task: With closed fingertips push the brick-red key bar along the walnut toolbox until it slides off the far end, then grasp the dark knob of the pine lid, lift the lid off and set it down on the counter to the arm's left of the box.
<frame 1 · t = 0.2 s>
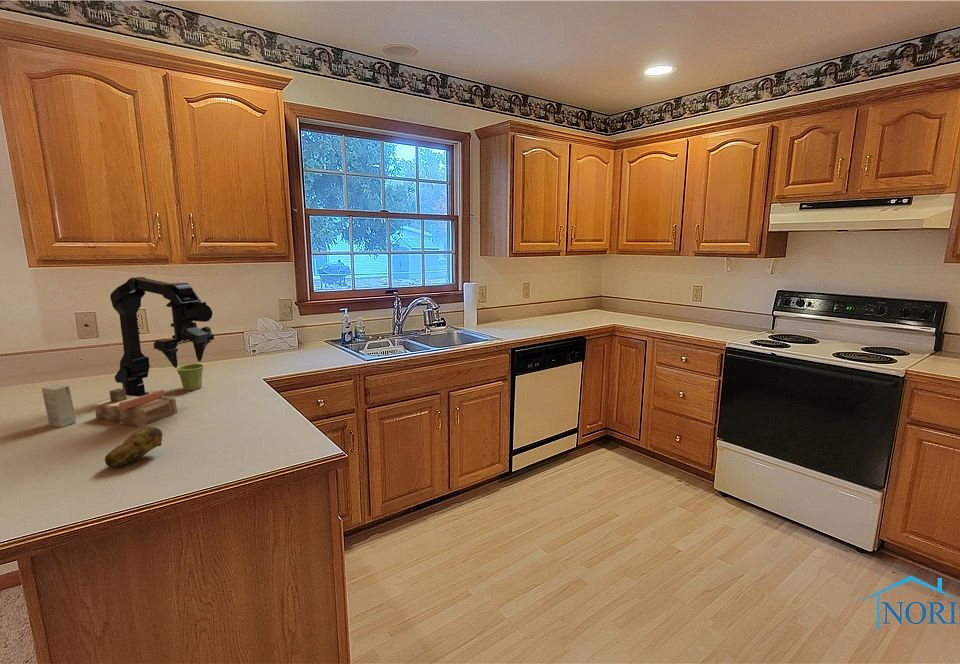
hand: (188, 364, 165), 14 cm above the table, fingers open, 9 cm apart
lid: (133, 404, 154), point 4 cm above the table, touching toolbox
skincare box: (62, 424, 149), on the table
key bar: (143, 399, 153), point 6 cm above the table, slide at 0.0 cm
plant pot: (192, 388, 185), on the table
potato: (136, 460, 125), on the table
toolbox: (135, 416, 155), on the table
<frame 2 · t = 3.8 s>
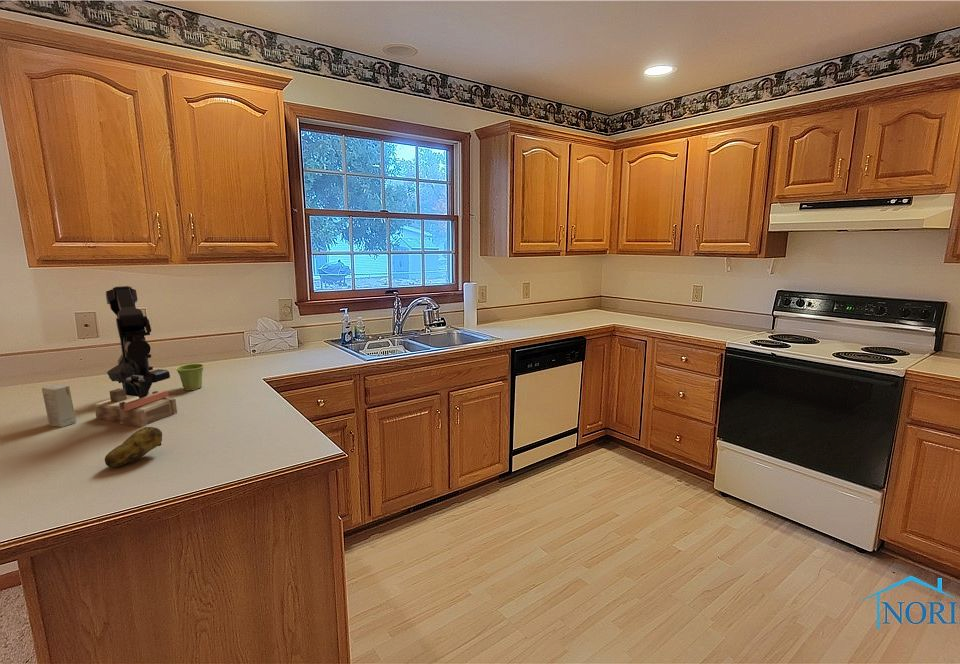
hand: (142, 399, 153), 6 cm above the table, fingers closed
key bar: (147, 399, 152), point 6 cm above the table, slide at 1.6 cm, touching gripper
everything else where it was.
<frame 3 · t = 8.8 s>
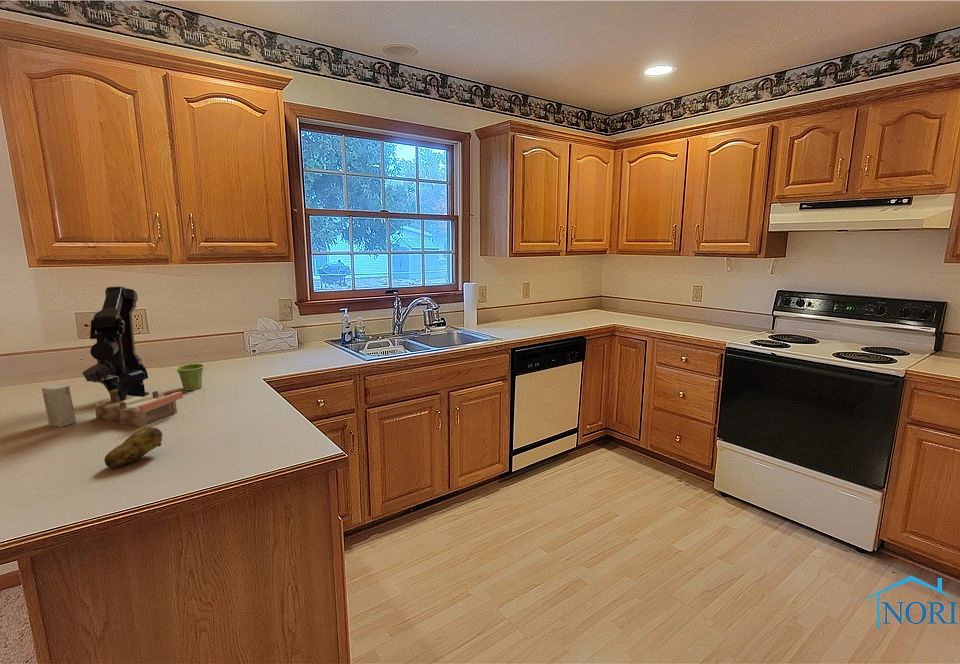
hand: (118, 399, 156), 5 cm above the table, fingers closed on lid, 3 cm apart
lid: (133, 404, 154), point 4 cm above the table, touching gripper, toolbox
key bar: (161, 401, 151), point 6 cm above the table, slide at 7.5 cm
everything else where it was.
when the fingers open (3 cm above the table, at t = 13.0 s): lid drops 1 cm, on the table.
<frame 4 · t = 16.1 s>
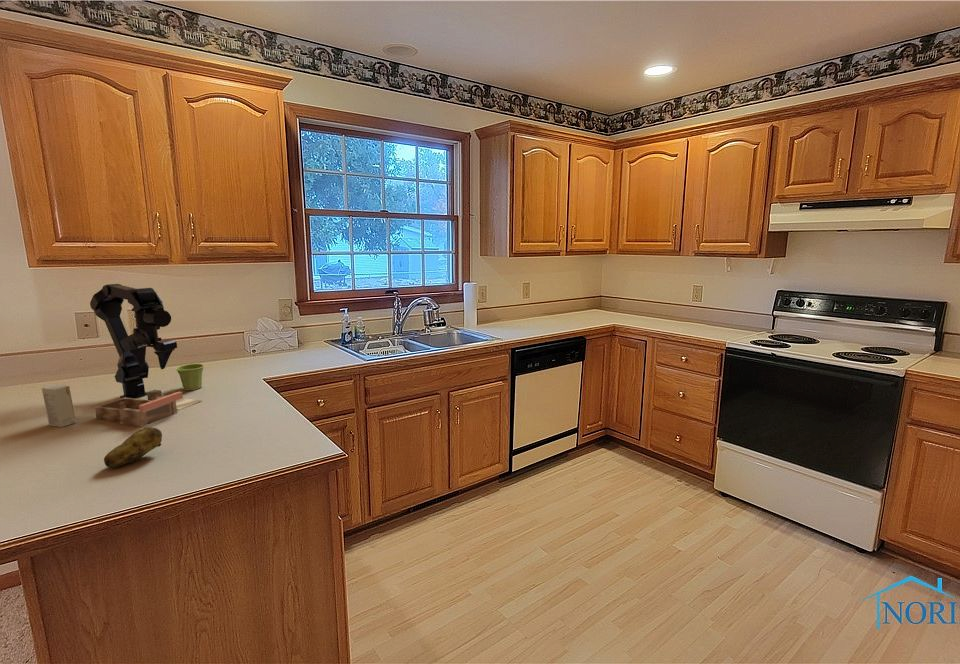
hand: (152, 368, 167), 12 cm above the table, fingers open, 9 cm apart
lid: (168, 404, 168), on the table
everything else where it was.
at the end: key bar slide at 7.5 cm; lid inside the target area (0.7 cm from its centre), on the table; lid tilted 0° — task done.
